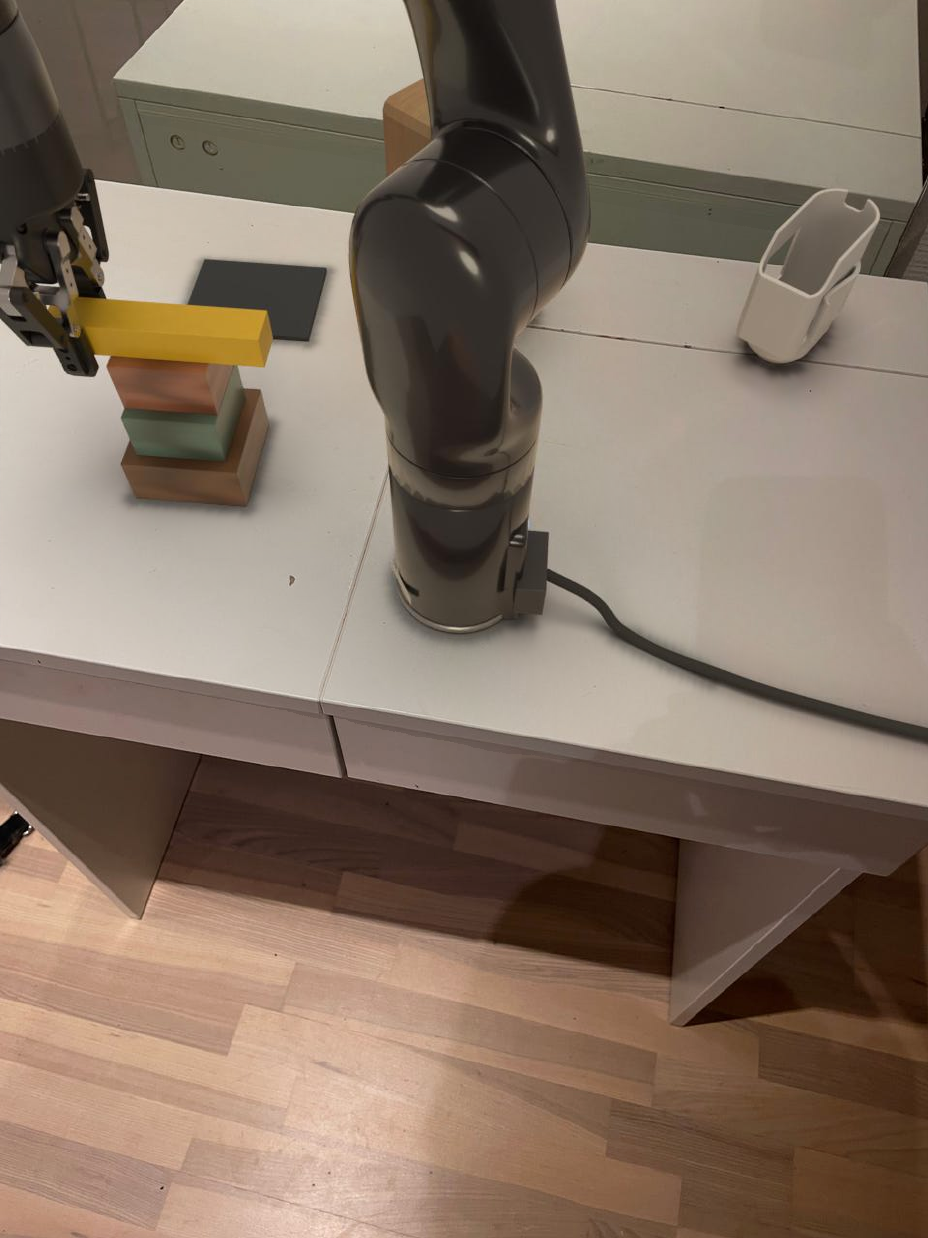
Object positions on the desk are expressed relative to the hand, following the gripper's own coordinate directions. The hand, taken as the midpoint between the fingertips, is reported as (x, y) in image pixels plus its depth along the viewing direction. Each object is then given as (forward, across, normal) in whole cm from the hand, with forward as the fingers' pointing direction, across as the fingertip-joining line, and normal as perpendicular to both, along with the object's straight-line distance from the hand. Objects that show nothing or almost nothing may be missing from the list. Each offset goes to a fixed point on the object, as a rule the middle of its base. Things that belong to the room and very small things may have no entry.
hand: (93, 350), depth 63 cm
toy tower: (+11, 0, -6) cm, 12 cm away
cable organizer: (+11, +19, -54) cm, 59 cm away
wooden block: (+11, +20, -26) cm, 34 cm away
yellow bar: (-1, 0, -6) cm, 6 cm away
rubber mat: (+11, +20, -6) cm, 23 cm away
